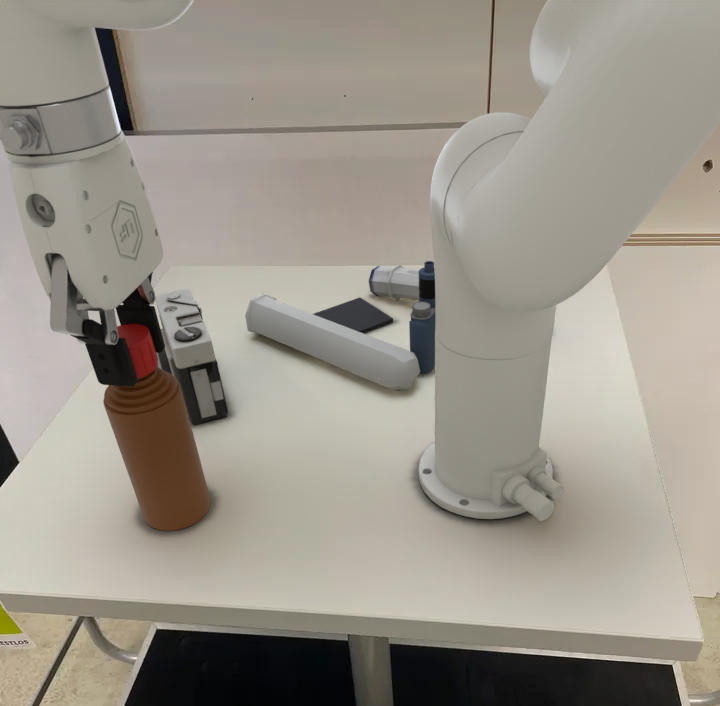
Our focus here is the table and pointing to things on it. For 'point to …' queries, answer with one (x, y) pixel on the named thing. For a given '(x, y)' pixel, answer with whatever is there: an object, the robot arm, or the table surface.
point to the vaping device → (424, 320)
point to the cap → (139, 348)
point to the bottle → (159, 450)
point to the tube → (333, 343)
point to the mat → (356, 315)
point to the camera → (190, 356)
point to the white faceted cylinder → (395, 282)
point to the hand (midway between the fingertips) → (133, 364)
